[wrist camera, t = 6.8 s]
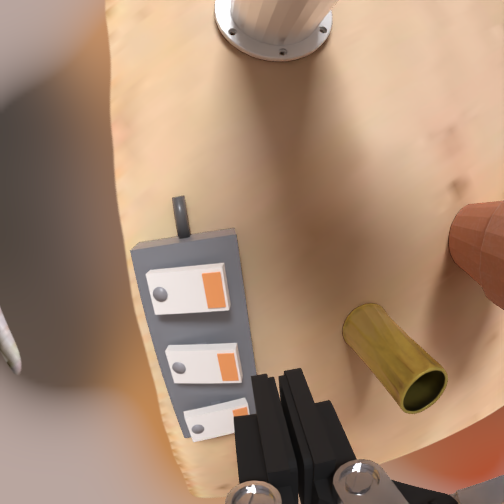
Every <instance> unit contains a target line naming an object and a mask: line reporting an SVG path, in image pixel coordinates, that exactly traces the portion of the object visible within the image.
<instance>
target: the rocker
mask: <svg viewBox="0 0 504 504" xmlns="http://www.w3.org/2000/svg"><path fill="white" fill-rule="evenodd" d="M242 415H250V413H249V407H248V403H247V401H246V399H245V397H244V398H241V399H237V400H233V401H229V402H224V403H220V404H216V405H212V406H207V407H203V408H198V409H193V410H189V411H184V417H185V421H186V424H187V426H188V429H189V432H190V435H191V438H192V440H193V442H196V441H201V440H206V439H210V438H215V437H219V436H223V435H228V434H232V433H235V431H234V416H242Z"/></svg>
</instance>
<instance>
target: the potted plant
mask: <svg viewBox="0 0 504 504" xmlns="http://www.w3.org/2000/svg"><path fill="white" fill-rule="evenodd" d="M449 248H450V253H451V256H452V258H453V260H454V262H455V263H456V264H457V265H458V266H459V267H461V268H462V269H463V270H464V271H465V272H466V273H468V274H469V275H470V276H471V277H472V278H473V279H474V280H475V281H477V282H478V283H479V284H480V285H481V286H482V288H483V290H484V293H485V295H486V297H487V298H488V299H489V300H491V301H492V302H493V303H494V304H496V305H497V306H499V307H500V308H502V309H503V310H504V201H497V202H486V203H477V204H468V205H467V206H465V207H463V208H462V209H461V210H460V211H459V213H458V214H457V215H456V217H455V219H454V221H453V223H452V225H451V230H450V234H449Z"/></svg>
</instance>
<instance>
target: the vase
mask: <svg viewBox="0 0 504 504" xmlns="http://www.w3.org/2000/svg"><path fill="white" fill-rule="evenodd" d="M343 337H344V340H345V341H346V343H347V344H348V345H349V346H350V347H351V348H352V349H353V350H354V351H355V352H356V353H357V354H358V356H359V357H360V358H361V359H362V360H363V361H364V362H365V364H366V365H367V366H368V367H369V368H370V370H371V371H372V372H373V373H374V375H375V376H376V377H377V378H378V380H379V381H380V382H381V383H382V384H383V386H384V387H385V388H386V389H387V391H388V392H389V393H390V394H391V396H392V397H393V398H394V400H395V401H396V402H397V404H398V405H399V406H400V408H401V409H402V410H403V411H404V412H405V413H408V414H416V413H419V412H422V411H424V410H425V409H427V408H429V407H430V406H431V405H433V404H434V403H435V402H436V401H437V400H438V399H439V398H440V396H441V395H442V393H443V392H444V390H445V388H446V386H447V382H448V375H447V373H446V371H445V370H444V368H443V367H442V366H441V365H440V364H439V363H438V362H437V361H435V360H434V359H433V358H432V357H431V356H430V355H429V354H428V353H427V352H426V351H425V350H423V349H422V348H421V347H420V346H419V345H418V344H417V343H416V342H415V341H414V340H413V339H411V338H410V337H409V336H408V335H407V334H406V333H405V332H404V331H403V330H402V329H401V328H400V327H399V326H398V325H397V324H396V323H395V322H394V321H393V320H392V319H391V318H390V317H389V316H388V315H387V313H386V312H385V310H384V309H383V308H382V307H381V306H379V305H377V304H374V303H369V304H364V305H362V306H359V307H357V308H356V309H354V310H353V311H352V312H351V313H350V314H349V315H348V317H347V318H346V320H345V323H344V326H343Z"/></svg>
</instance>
